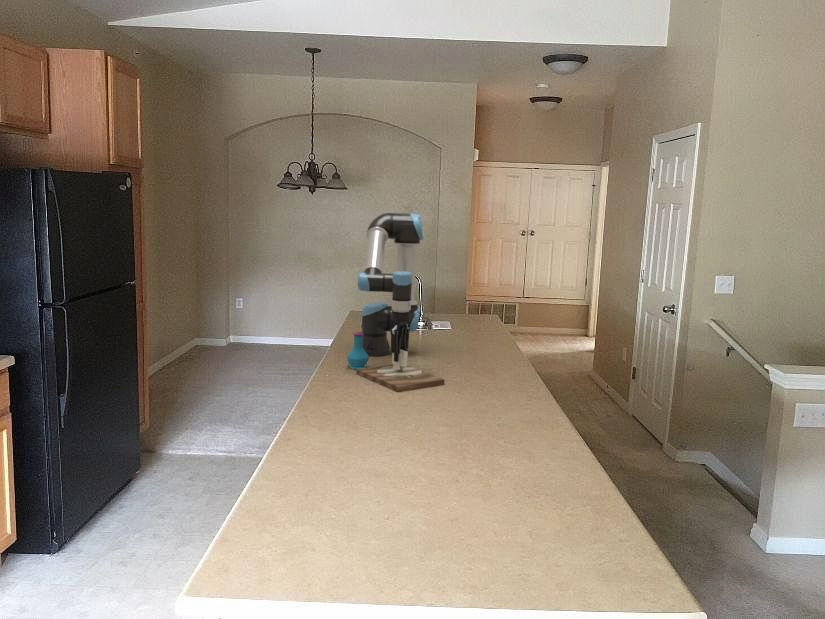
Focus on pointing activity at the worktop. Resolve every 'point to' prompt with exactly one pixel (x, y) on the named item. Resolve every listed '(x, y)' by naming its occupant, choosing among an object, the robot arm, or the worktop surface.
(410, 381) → the tuner board
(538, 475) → the worktop surface
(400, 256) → the robot arm
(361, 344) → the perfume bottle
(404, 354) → the beige block with bar
